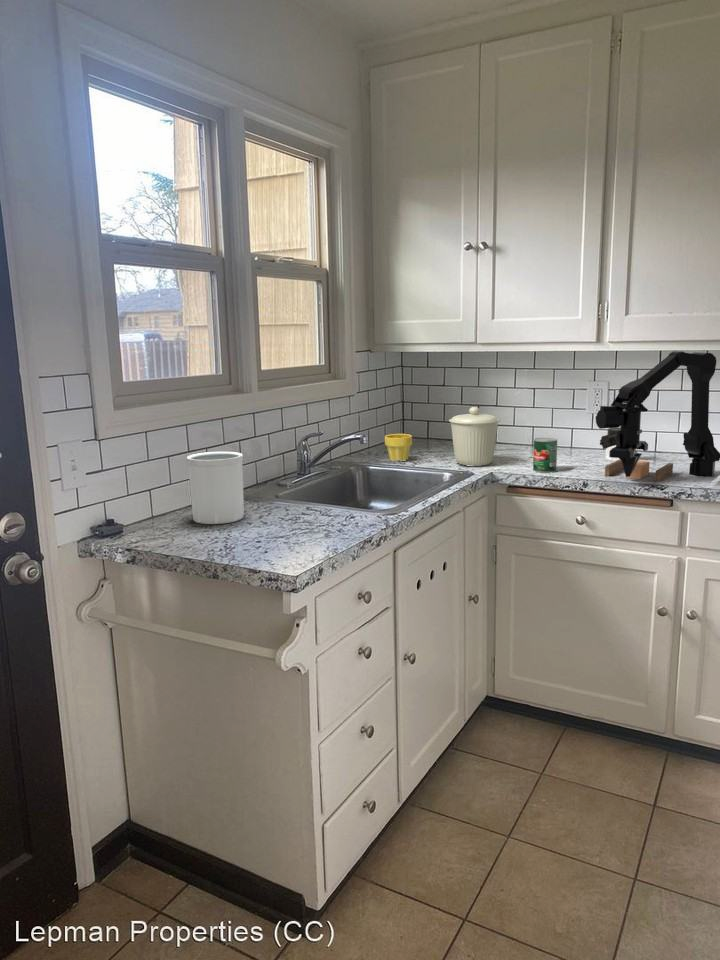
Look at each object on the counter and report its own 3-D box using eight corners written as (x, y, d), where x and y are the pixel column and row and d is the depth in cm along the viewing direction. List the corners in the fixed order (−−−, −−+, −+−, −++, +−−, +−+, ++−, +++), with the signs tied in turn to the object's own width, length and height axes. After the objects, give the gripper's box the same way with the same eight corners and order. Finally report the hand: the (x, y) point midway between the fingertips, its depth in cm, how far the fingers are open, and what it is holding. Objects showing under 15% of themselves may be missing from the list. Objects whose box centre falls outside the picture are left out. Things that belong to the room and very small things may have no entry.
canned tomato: (530, 472, 249) (531, 440, 247) (535, 468, 256) (536, 437, 254) (554, 473, 246) (554, 441, 244) (558, 469, 253) (559, 438, 250)
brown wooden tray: (674, 477, 235) (675, 463, 234) (661, 485, 223) (661, 471, 222) (618, 471, 246) (618, 458, 245) (602, 479, 234) (603, 465, 233)
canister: (455, 459, 278) (454, 404, 273) (502, 460, 272) (503, 404, 267) (444, 467, 261) (444, 409, 257) (494, 469, 255) (495, 409, 251)
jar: (619, 464, 257) (621, 431, 255) (600, 461, 264) (602, 429, 262) (635, 461, 262) (637, 428, 260) (616, 458, 269) (618, 426, 266)
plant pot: (397, 464, 270) (397, 438, 268) (379, 461, 278) (379, 435, 276) (418, 460, 276) (417, 435, 274) (399, 457, 284) (399, 432, 282)
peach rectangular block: (648, 474, 235) (649, 461, 234) (640, 479, 228) (641, 466, 227) (634, 473, 238) (635, 460, 237) (625, 477, 231) (626, 464, 230)
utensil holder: (210, 510, 208) (206, 449, 205) (256, 513, 203) (252, 451, 200) (180, 523, 195) (175, 458, 191) (228, 527, 190) (223, 461, 186)
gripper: (614, 421, 234) (612, 469, 237) (593, 428, 219) (591, 479, 223) (649, 423, 227) (647, 472, 230) (630, 431, 213) (628, 483, 216)
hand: (627, 476), depth 225 cm, fingers closed
